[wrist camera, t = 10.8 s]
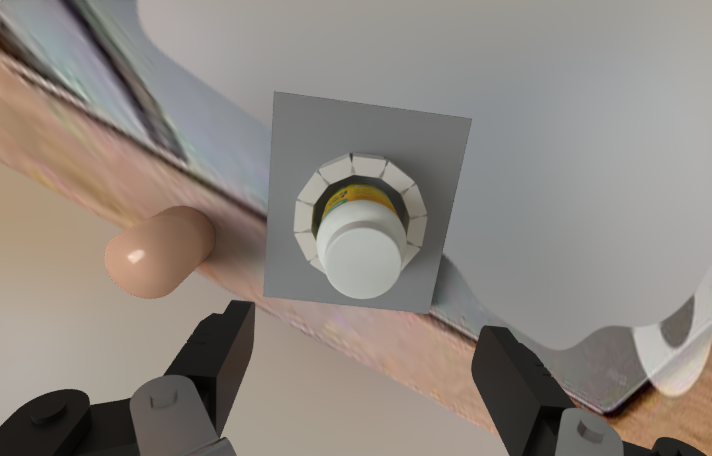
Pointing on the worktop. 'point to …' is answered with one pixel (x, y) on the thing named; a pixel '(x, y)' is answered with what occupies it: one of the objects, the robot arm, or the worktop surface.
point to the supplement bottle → (361, 241)
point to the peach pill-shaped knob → (159, 252)
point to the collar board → (358, 164)
